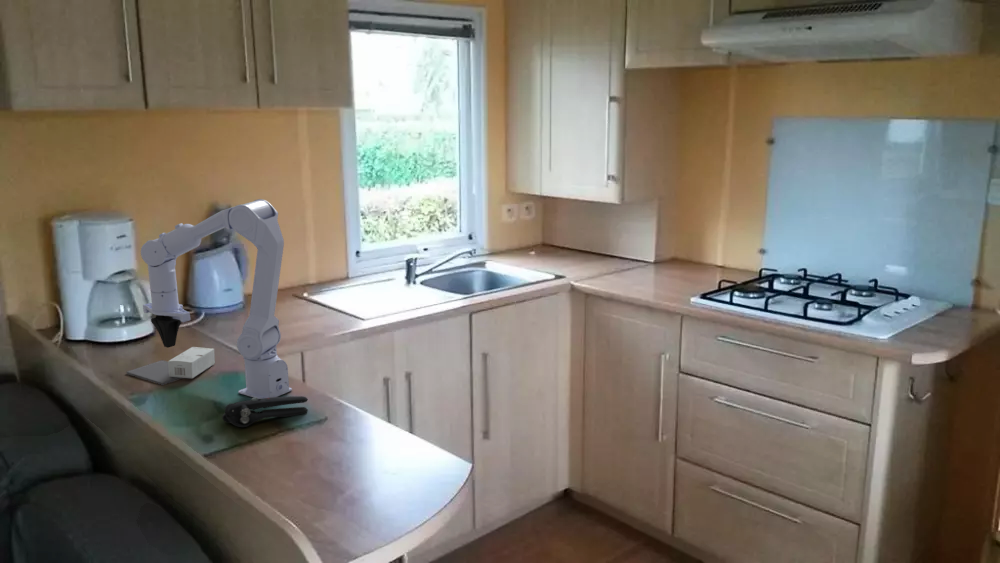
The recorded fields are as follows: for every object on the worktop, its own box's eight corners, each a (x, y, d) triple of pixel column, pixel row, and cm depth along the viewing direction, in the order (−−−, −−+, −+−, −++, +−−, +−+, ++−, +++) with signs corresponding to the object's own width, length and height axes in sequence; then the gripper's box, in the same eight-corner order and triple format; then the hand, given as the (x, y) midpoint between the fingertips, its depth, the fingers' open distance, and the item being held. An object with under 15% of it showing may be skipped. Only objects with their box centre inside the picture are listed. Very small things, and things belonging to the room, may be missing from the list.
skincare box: (167, 360, 190) (191, 345, 202) (168, 378, 191) (191, 361, 203) (192, 362, 190) (214, 346, 202) (193, 380, 191) (215, 363, 203)
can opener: (227, 434, 163) (224, 409, 162) (221, 422, 169) (219, 397, 168) (313, 418, 171) (311, 393, 170) (304, 406, 177) (303, 382, 176)
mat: (198, 372, 197) (198, 370, 197) (162, 385, 189) (162, 382, 189) (162, 362, 204) (162, 360, 204) (126, 374, 196) (126, 371, 196)
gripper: (199, 290, 184) (204, 346, 187) (159, 282, 191) (165, 336, 194) (172, 297, 178) (178, 355, 181) (132, 288, 185) (138, 344, 189)
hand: (169, 346), depth 187 cm, fingers closed
